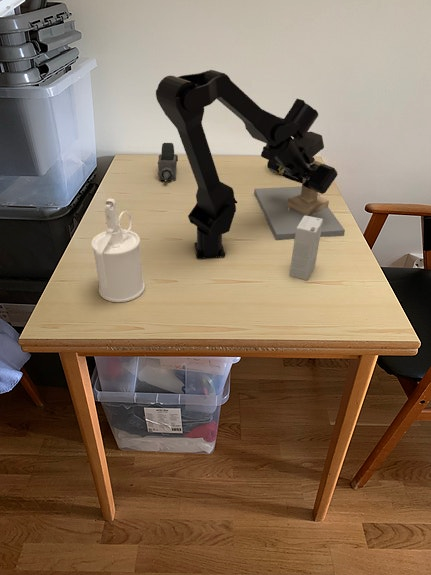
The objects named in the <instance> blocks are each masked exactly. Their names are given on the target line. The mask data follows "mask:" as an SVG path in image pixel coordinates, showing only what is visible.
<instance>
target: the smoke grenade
mask: <svg viewBox="0 0 431 575" xmlns="http://www.w3.org/2000/svg"><path fill="white" fill-rule="evenodd" d="M104 204H105V207H104V213H105V219H106V221H105V224H106V227H107V228H106V230H104V231H102V232H100V233H98V234H96V235H95V236H94V237H93V238H92V239H91V242H90V246H91V249H92V251H93V255H94V260H95V266H96V267H95V268H96V273H97V278H98V284H99V285H98V286H99V287H98V294H99V295H100V296H101V297H102V298H103V299H104V300H106V301H107V302H108V301H109V302H112V303H126V302H130V301H133V300H136V299H137V298H139V296H141V295H142V294H143V293H144V291H145V288H146V286H145V281H144V280H143V279H144V278H143V268H142V259H141V250H140V244H141V237H140V235H138V234H137V233H136V232H135V231H132V226H133V219H132V215H131V214H130V212H129V211H126V210H124V211H122V212H121V213H120V214H119V216H118V210H117V209H118V208H117V202H116V201H115V199H114V198H108V199H106V200H105V203H104ZM124 214H127V216H128V217H129V218H128V220H129V226H128V228H127V229H125V228H122V227H121V223H120V221H121V220H122V217H123V215H124Z"/></svg>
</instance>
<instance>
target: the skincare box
mask: <svg viewBox="0 0 431 575" xmlns="http://www.w3.org/2000/svg"><path fill="white" fill-rule="evenodd" d="M322 224H323V219H321V218H316V217H311V216H304V217H303V218H302V220H301V222H300V223H299V225H298V226H297V228H296V235H295V239H294V241H293V247H292V248H293V249H292V256H291V262H290V267H289V268H290V269H289V276H290V277H293V278H297V279H300V280H303V281H304V280H305V281H308V280H309V278H310V277H311V274H312V272H313V270H314V269H315V267H316V262H317V258H318V257H317V256H318V253H319V245H320V240H321V237H320V235H321V230H322Z"/></svg>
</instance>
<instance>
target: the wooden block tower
mask: <svg viewBox="0 0 431 575" xmlns="http://www.w3.org/2000/svg"><path fill="white" fill-rule="evenodd" d="M312 164H317V165H321V164H323V163H322V162H319V161H318V160H316V159H315V160H314V162H313V163H312ZM312 164H311V163H310V165H312ZM305 181H306V179H304V178H303V182H302V183H301V184H302V185H301V186H302V190H301V195H298V196H295V197H292V198H290V199H288V205H287V206H288V207H290V208H292V209H294V210H296V211H298V212H300V213H302V214H304V215H306V216H308V215H310V214H313V213H315V212H318V211H320V210H323V209H325V208H328V207H329V203H330V200H329V199H327V198H324V197H322V196H321V195H320V196H321V197H320V196H318V194H319V193H318V192H316V191H314V190H313V189H309V188H307V187H305V186H303V184H304V182H305Z"/></svg>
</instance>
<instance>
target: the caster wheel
mask: <svg viewBox="0 0 431 575" xmlns="http://www.w3.org/2000/svg"><path fill="white" fill-rule="evenodd" d="M157 160H158V161H157V165H158V166H157V168H158V170H157V171H158V174H157V175H158V178H159V181H161V180H166V182H169V181H168V180H171V181H170V182H174V181H176V179H177V165H178V164H177V163H178V161H179V156H178V155H177V153H176V154H175V147H174V143H173V142H164V143H162V144H161V154H159V155H158V159H157ZM172 180H173V181H172Z"/></svg>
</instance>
